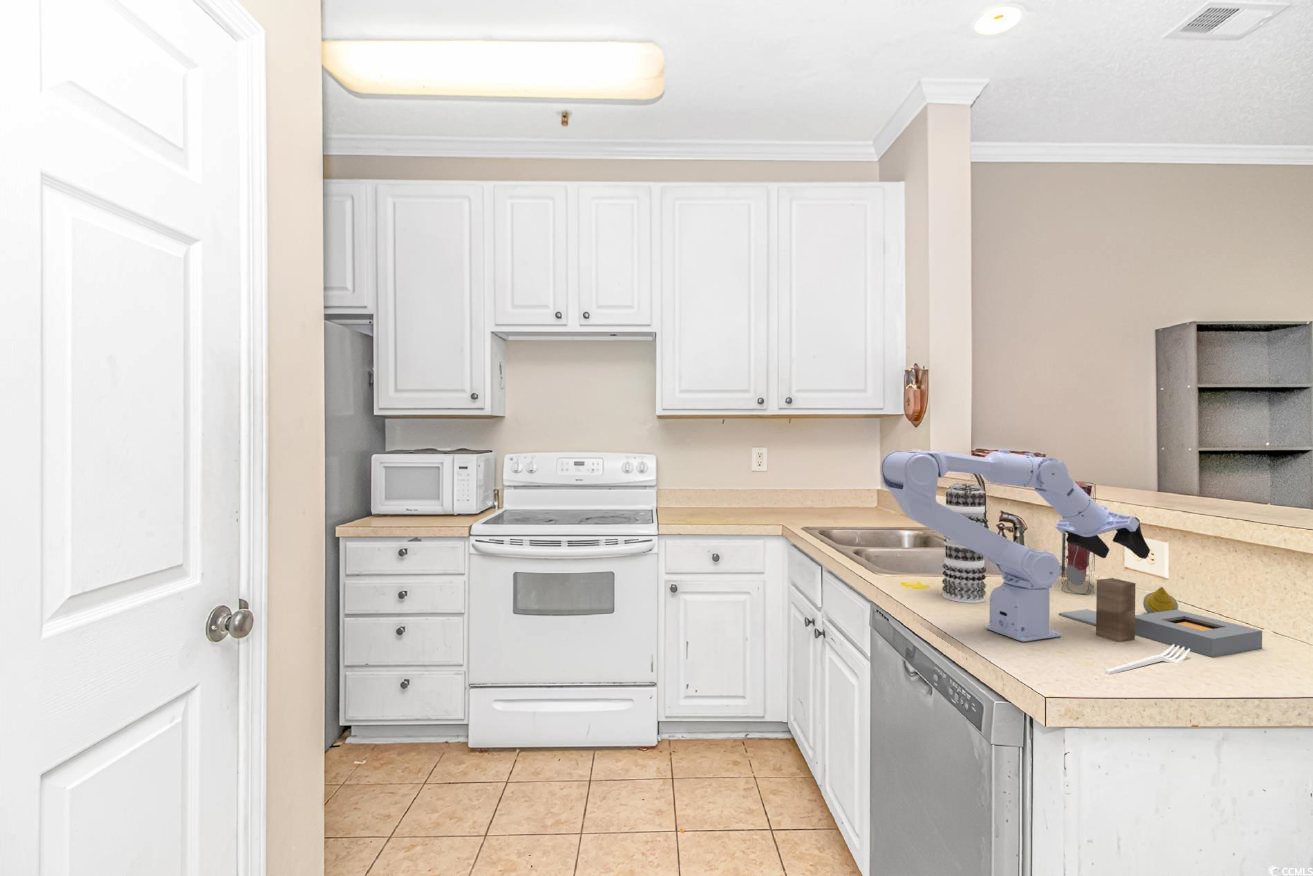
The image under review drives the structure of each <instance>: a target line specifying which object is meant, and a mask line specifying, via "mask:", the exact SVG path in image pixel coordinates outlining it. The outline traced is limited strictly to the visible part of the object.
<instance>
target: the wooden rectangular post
mask: <svg viewBox="0 0 1313 876" xmlns="http://www.w3.org/2000/svg"><path fill="white" fill-rule="evenodd" d="M1136 584H1137V583H1136V582H1132V581H1126V580H1123V579H1117V578H1114V577H1110V578H1100V579H1096V603H1095V604H1096V607H1095V609H1096V610H1095V612H1096V626H1095V629H1096V630H1095V636H1098V637H1102V638H1104V639H1107V640H1110V641H1114V642H1118V643H1122V642H1129V641H1130V642H1131V641H1134V640H1136V634H1135V615H1136Z"/></svg>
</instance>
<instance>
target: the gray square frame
mask: <svg viewBox="0 0 1313 876" xmlns="http://www.w3.org/2000/svg"><path fill="white" fill-rule="evenodd" d="M1182 622H1188V623H1191V624H1195V625H1199V626H1203V627H1207V628H1211V629H1210V630H1204V631H1202V630H1198V629H1194V628H1190V627H1187V626H1183V625H1179V624H1175V623H1182ZM1135 636H1139V637H1143V638H1147V639H1150V640H1153V641H1156V642H1161V643H1162V644H1163V643H1164V644H1167V645H1168V646H1169V645H1170V646H1172V645H1173V644H1175V646H1174V647H1175V648H1176V647H1177V646H1178V645H1179V646H1180V647H1179V648H1180V649H1182V647H1185V648H1184V650H1186V651H1187V650H1188V649H1189V648H1190V651H1189V652H1194V653H1196V654H1200V655H1204V656H1207V657H1210V658H1215V657H1221V656H1228V655H1232V654H1239V653H1243V652H1249V651H1253V650H1259V649H1263V630H1261V629H1259V628H1258V629H1257V628H1252V627H1249V626H1245V625H1241V624H1238V623H1237V624H1236V623H1233V622H1229V621H1225V620H1220V619H1216V618H1212V617H1209V616H1204V615H1201V614H1197V613H1196V614H1195V613H1192V612H1188V611H1184V610H1180V609H1178V610H1170V611H1162V612H1155V613H1148V612H1147V613H1141V614H1135Z"/></svg>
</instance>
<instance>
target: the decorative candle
mask: <svg viewBox="0 0 1313 876" xmlns="http://www.w3.org/2000/svg"><path fill="white" fill-rule="evenodd" d="M944 491H945V504H944V506H945V507H947V508H949V509H951V510H953V511H955V512H956V513H958V514H960V515H962V516H964V517H966V518H968V519H970V520H972V521H974V522H976V523H978V524H980V525H981V526H983V527H985V528H987V529H989V528H988V526H986V524H987V523H989V520H988V519H987V518H985V517H984V515H985V514H987V510H986V505H985V493H987V492H986V491H985V490H983V488H982V487H981V485H979V484H976V483H961V482H960V483H958V482H957V483H952V484H951V485H950V486H949V487H948V489H945V490H944ZM943 537H944V538H945V539H943V542H942V543H943V544H944V545H945V549H944V550H945V553H944V554H945V556H944V560H943V561H944V563H943V565H942V568H943V569H944V570H943V571H942V575H943V576H945V577H944V578H943V579H942V580H941V582H942V584H943V586H942V588H941V590H942V591H943V593H942V597H943V598H944V599H947V600H950V601H953V602H958V603H966V604H981V603H984V602H986V597H985V596H986V594H987V592H986V590H985V589H986V587H987V584H986V582H984V580H986V578H987V576H986V575H985V574H984V573H986V571H987V568H986V567H985V559H984V556H982V555H980V554H978V553H976V552H974V551H972V550H971V549H969V548H967V547H965V546H963V545H961V544H959V543H957V542H955V541H953V540H951V539H949V538H947V537H945V536H943Z"/></svg>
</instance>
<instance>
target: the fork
mask: <svg viewBox="0 0 1313 876" xmlns="http://www.w3.org/2000/svg"><path fill="white" fill-rule="evenodd" d="M1174 647H1175V648H1174ZM1179 648H1180V646H1179V645H1178V646H1177V647H1176V646H1175V644H1173V645H1170V646H1169V647H1168V648H1167V649H1166V650H1164V651H1163V652H1161V653H1160V654H1158V655H1157V654H1155V655H1151V656H1148V657H1145V658H1141V659H1138V660H1135V661H1134V660H1133V661H1131V662H1127V663H1124V664H1121V665H1118V666H1114V667H1110V668H1108V669H1105V671H1104V674H1107V675H1110V676H1111V675H1114V674H1117V673H1122V672H1125V671H1129V670H1133V669H1136V668H1140V667H1143V666H1147V665H1150V664H1151V665H1152V664H1155V663H1158V662H1159V663H1160V662H1166V663H1169V664H1175V663H1181V662H1184V661H1185V660H1186V659H1187V657H1188V655H1189V653H1190V652H1191V651H1190V648H1189V649H1188V650H1186V651H1185V652H1184V653H1183V651H1184V650H1185V649H1184V648H1185V647H1182V648H1180V650H1179ZM1178 650H1179V651H1178ZM1177 651H1178V652H1177ZM1176 652H1177V653H1176ZM1181 654H1182V655H1181Z"/></svg>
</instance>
